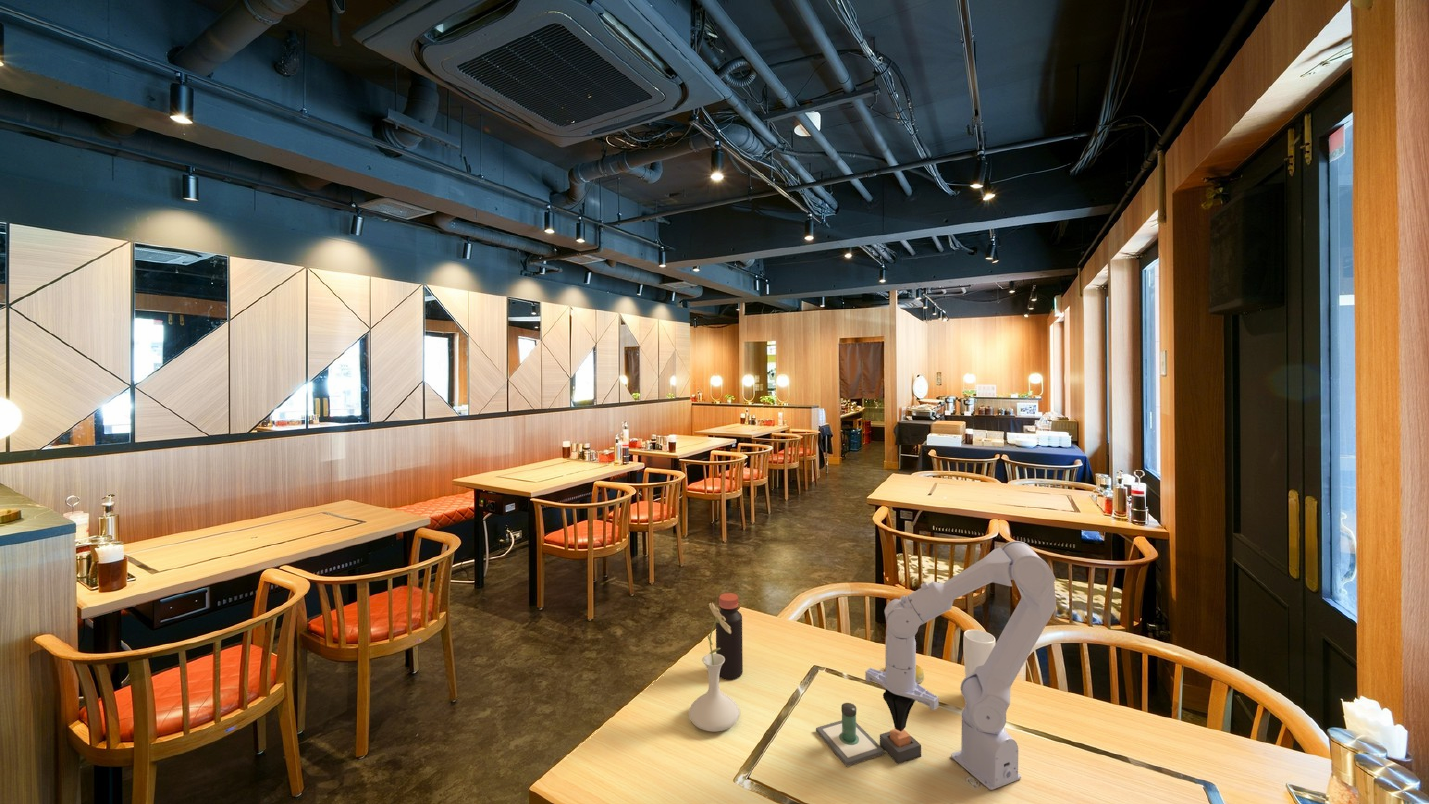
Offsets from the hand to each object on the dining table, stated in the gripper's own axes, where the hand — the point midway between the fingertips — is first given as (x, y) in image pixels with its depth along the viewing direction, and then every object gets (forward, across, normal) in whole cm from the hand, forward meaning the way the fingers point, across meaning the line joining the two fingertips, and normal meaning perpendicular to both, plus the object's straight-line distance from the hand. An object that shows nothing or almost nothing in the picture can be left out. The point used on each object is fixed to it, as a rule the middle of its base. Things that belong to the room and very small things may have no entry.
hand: (900, 727), depth 106 cm
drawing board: (+5, +9, +5) cm, 11 cm away
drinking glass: (+5, -5, -29) cm, 30 cm away
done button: (+3, 0, 0) cm, 3 cm away
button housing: (+5, 0, 0) cm, 5 cm away
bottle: (+5, +44, +4) cm, 45 cm away
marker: (+4, +9, +5) cm, 11 cm away
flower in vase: (+5, +34, +19) cm, 40 cm away
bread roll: (+5, +12, -27) cm, 30 cm away
